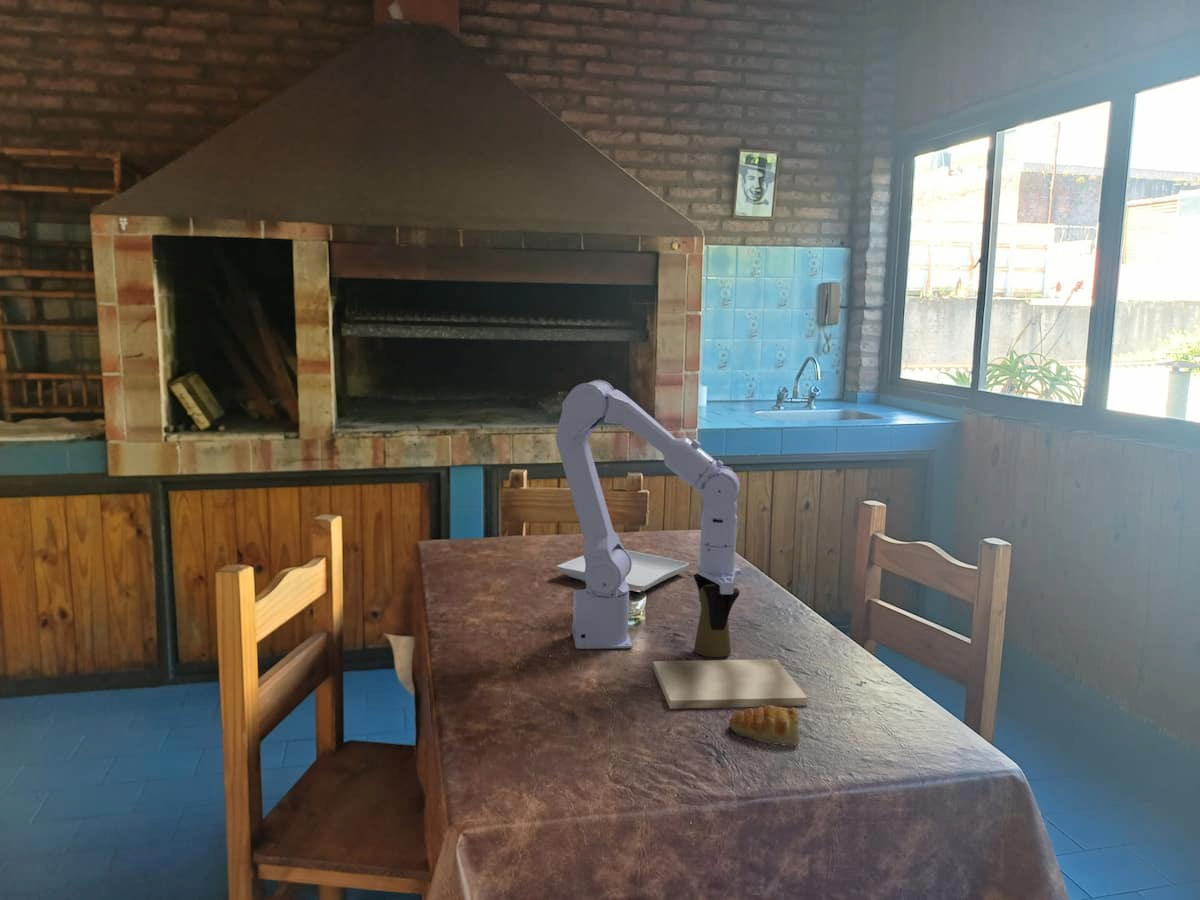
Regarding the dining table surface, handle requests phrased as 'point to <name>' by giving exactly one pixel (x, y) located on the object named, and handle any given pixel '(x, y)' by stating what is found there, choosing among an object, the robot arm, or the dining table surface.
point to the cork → (710, 633)
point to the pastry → (768, 724)
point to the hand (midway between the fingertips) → (713, 622)
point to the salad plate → (634, 569)
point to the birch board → (727, 684)
